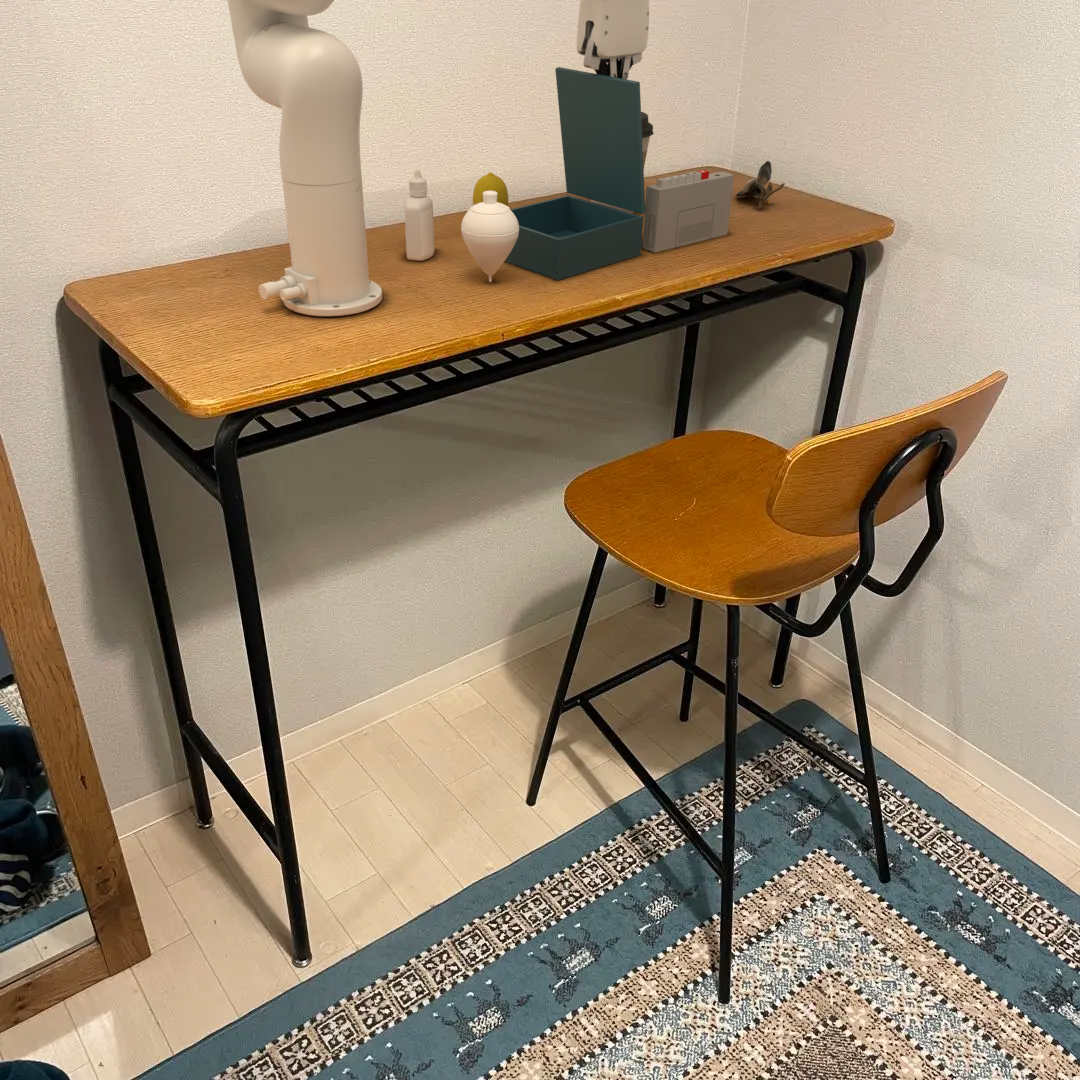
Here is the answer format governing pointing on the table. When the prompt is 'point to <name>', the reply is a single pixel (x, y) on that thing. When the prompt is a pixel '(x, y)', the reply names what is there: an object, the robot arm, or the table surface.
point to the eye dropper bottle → (419, 220)
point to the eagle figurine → (760, 186)
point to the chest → (573, 236)
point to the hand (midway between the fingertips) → (610, 110)
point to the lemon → (490, 189)
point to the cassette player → (687, 209)
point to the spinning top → (490, 232)
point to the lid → (602, 138)
